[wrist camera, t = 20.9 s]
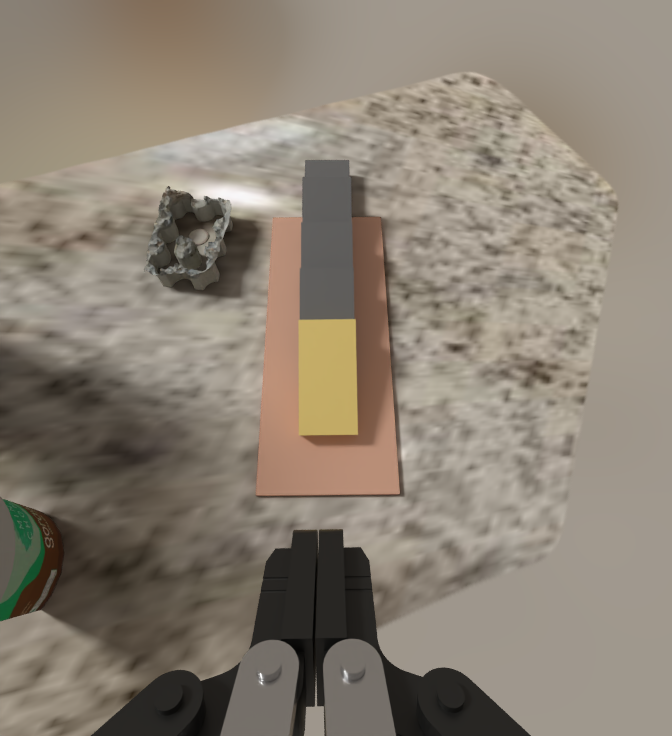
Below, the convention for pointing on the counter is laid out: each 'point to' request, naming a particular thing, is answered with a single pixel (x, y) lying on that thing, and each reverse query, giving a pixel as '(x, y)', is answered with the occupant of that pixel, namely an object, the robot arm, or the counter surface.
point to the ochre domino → (327, 377)
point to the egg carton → (187, 239)
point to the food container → (27, 559)
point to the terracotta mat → (281, 380)
